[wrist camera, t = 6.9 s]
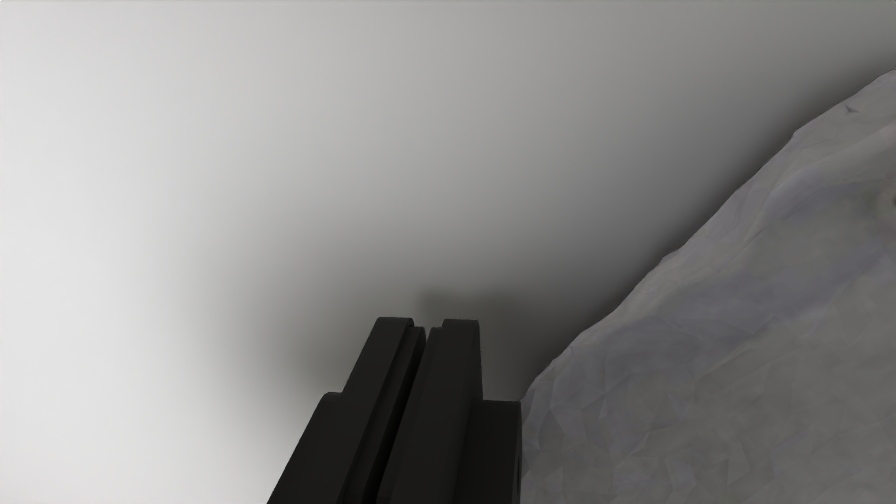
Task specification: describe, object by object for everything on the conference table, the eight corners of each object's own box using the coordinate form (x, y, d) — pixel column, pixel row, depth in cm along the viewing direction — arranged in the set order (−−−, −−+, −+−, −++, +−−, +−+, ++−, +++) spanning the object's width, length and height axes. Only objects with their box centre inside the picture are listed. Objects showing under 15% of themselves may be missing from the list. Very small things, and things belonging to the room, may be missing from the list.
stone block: (473, 443, 16) (848, 679, 14) (397, 601, 11) (922, 959, 10) (774, -33, 10) (1407, 271, 9) (845, -75, 6) (2054, 488, 5)
